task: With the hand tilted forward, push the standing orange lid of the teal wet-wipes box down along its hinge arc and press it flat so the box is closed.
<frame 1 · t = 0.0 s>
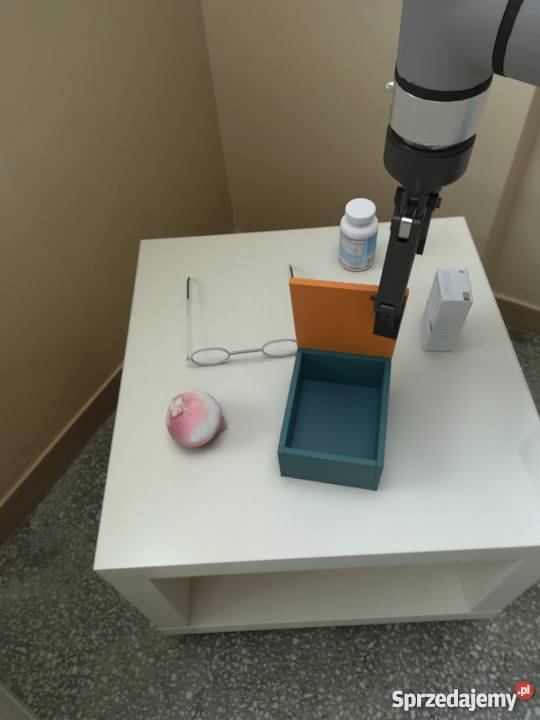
hand: (399, 290, 63), 18 cm above the table, tool pointing down, fingers open, 13 cm apart
onion: (200, 429, 75), on the table
cosmetic box: (436, 337, 81), on the table
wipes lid: (345, 321, 63), point 16 cm above the table, hinge at 80.0°
eyeglasses: (243, 315, 86), on the table
wipes box: (335, 430, 73), on the table
pill bottle: (356, 260, 91), on the table
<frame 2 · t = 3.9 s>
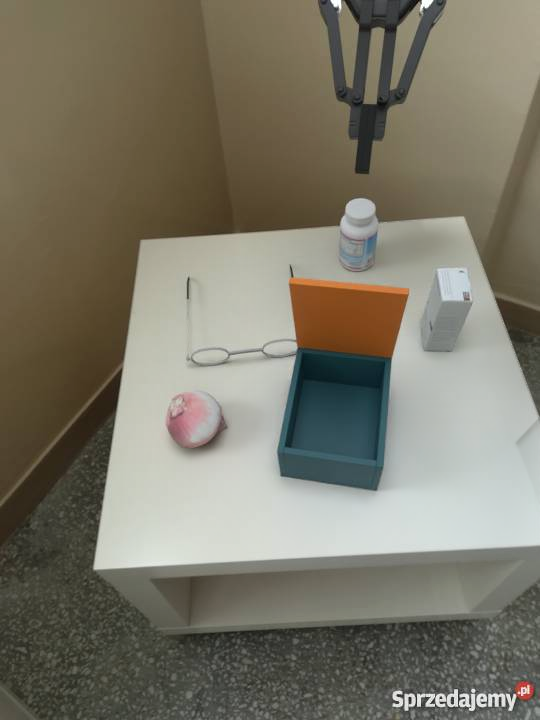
hand: (362, 171, 57), 30 cm above the table, tool tilted 45°, fingers closed
nothing on the table moved.
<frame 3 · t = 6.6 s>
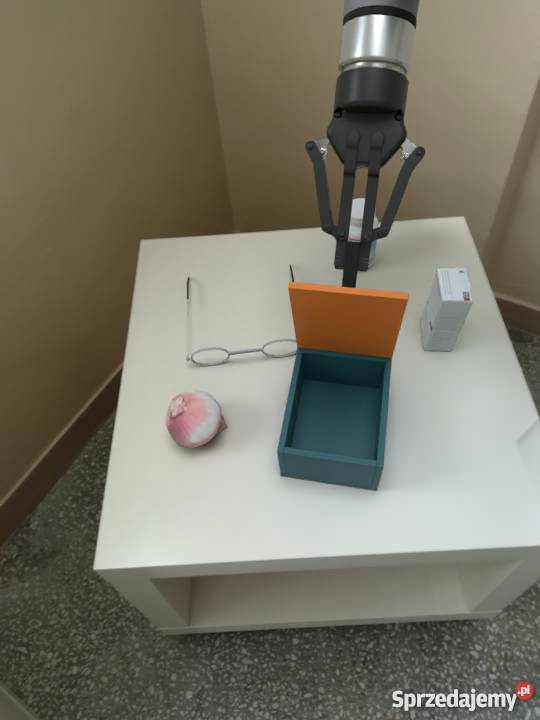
hand: (347, 299, 61), 20 cm above the table, tool tilted 45°, fingers closed
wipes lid: (345, 323, 63), point 16 cm above the table, hinge at 78.0°, touching gripper
everything else where it was.
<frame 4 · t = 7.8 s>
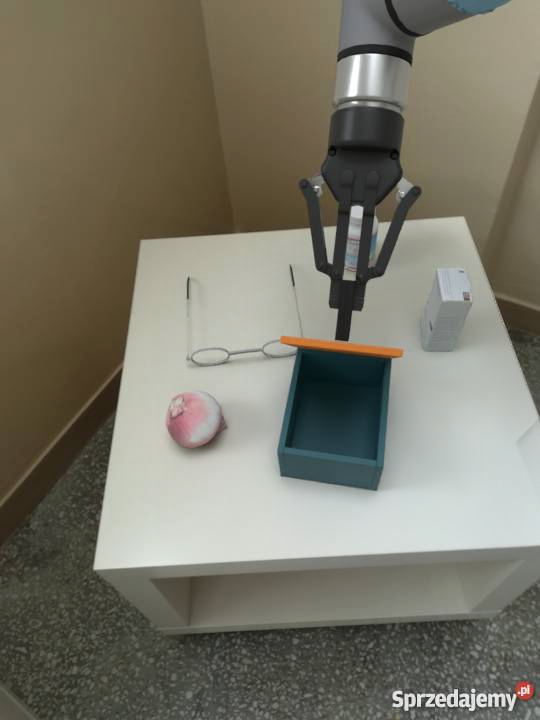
hand: (342, 338, 59), 18 cm above the table, tool tilted 45°, fingers closed
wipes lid: (342, 348, 63), point 15 cm above the table, hinge at 56.5°, touching gripper
everything else where it was.
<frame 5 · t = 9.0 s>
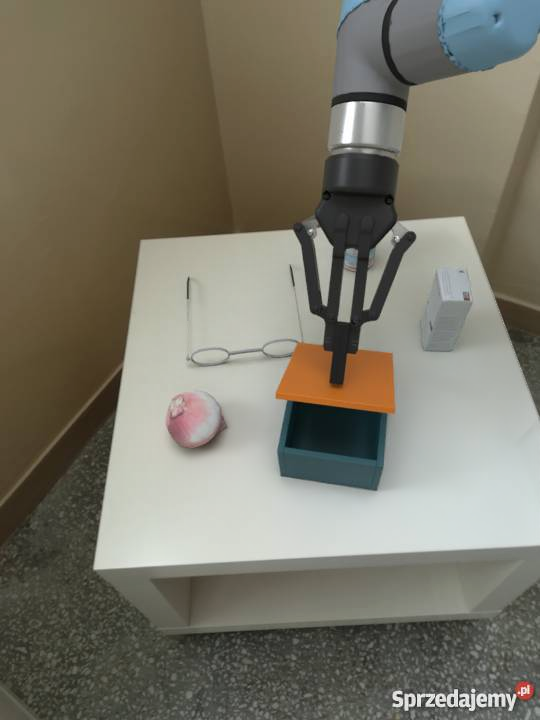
hand: (336, 380, 59), 16 cm above the table, tool tilted 45°, fingers closed
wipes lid: (339, 373, 63), point 13 cm above the table, hinge at 34.7°, touching gripper
everything else where it was.
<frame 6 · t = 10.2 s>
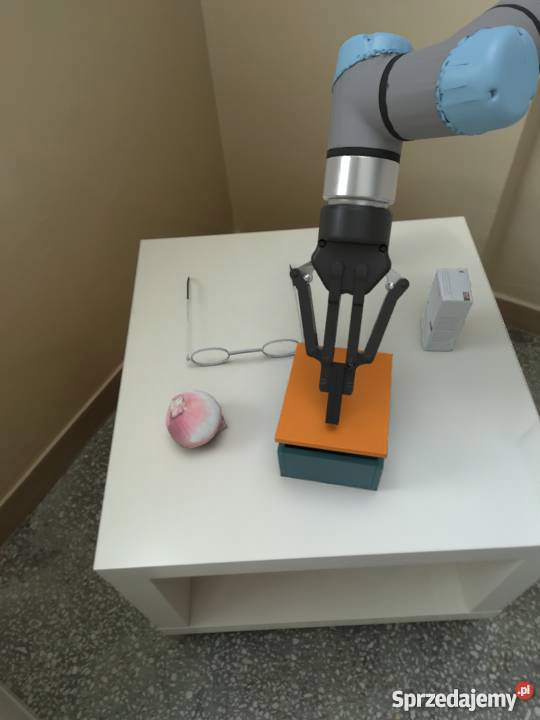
hand: (332, 420, 60), 12 cm above the table, tool tilted 45°, fingers closed
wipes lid: (337, 394, 65), point 10 cm above the table, hinge at 12.0°
everything else where it was.
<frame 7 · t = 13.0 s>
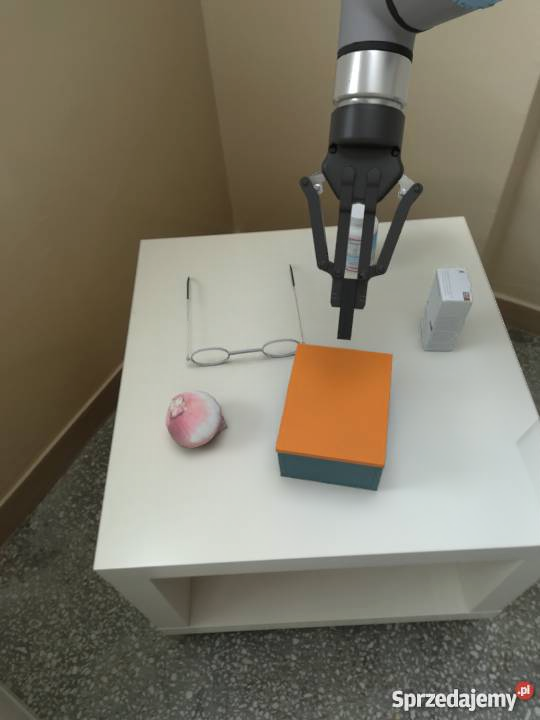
hand: (344, 337, 59), 19 cm above the table, tool tilted 45°, fingers closed
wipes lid: (337, 400, 66), point 9 cm above the table, hinge at 4.2°
everything else where it was.
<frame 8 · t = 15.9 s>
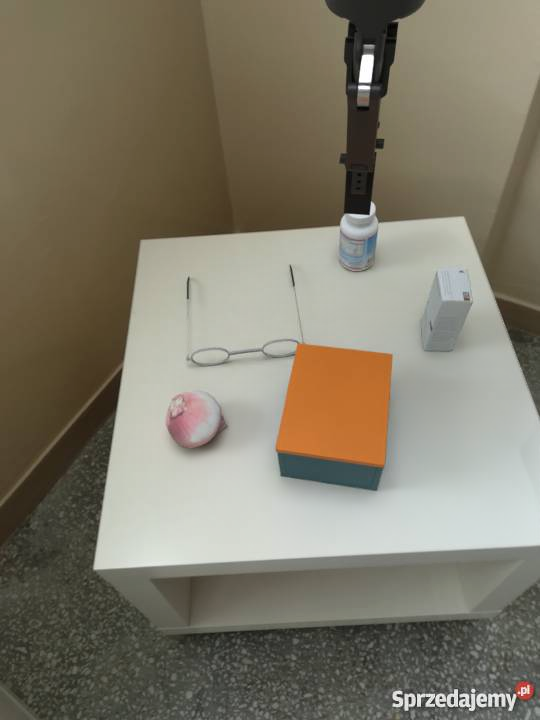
hand: (357, 209, 56), 28 cm above the table, tool pointing down, fingers closed
nothing on the table moved.
at the end: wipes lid at +4° (first picture: +80°) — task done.
